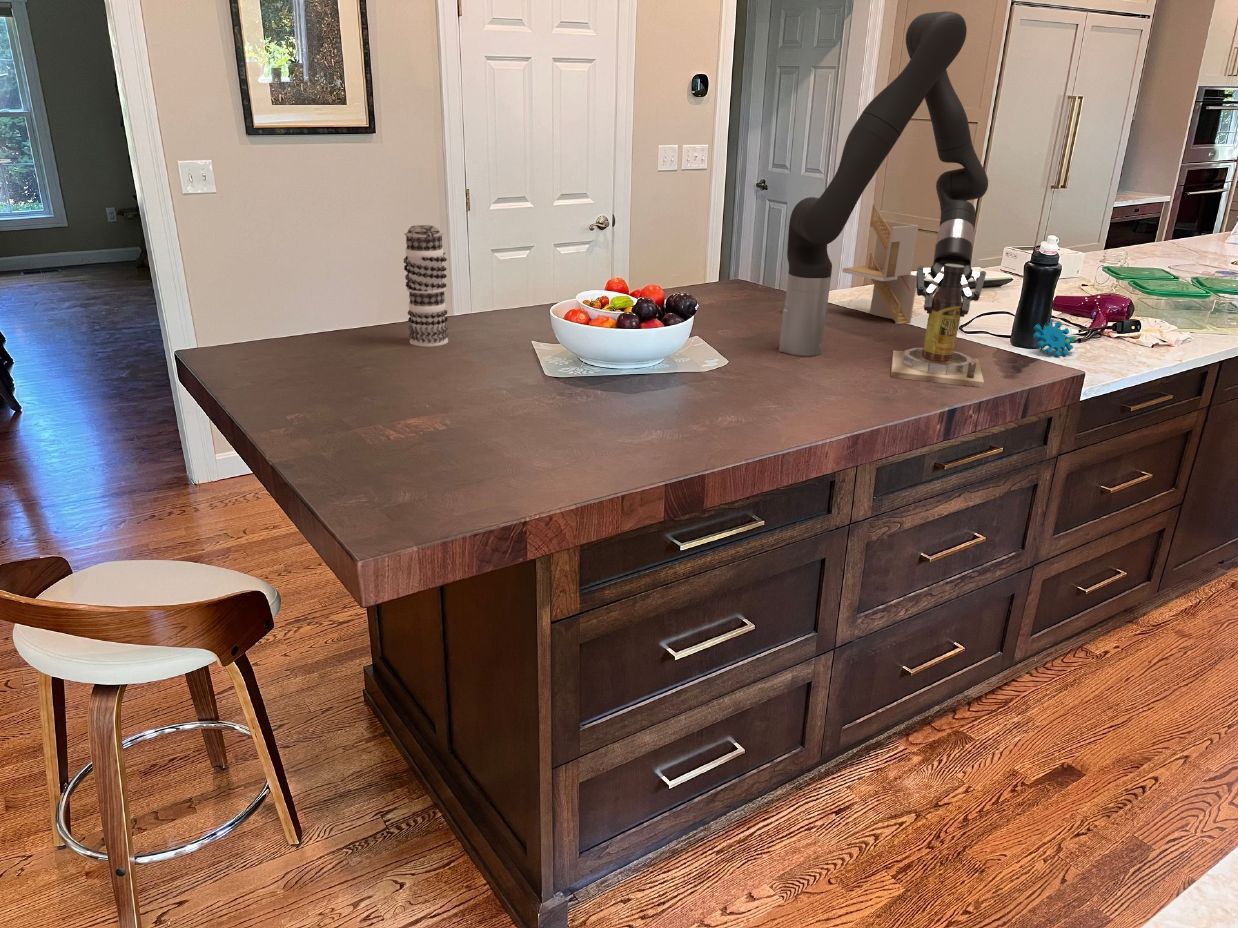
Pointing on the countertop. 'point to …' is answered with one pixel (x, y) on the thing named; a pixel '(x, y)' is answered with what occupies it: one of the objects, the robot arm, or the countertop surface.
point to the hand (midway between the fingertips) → (945, 313)
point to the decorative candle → (426, 286)
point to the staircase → (891, 269)
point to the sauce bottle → (944, 316)
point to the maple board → (907, 373)
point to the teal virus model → (1054, 338)
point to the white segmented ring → (936, 368)
